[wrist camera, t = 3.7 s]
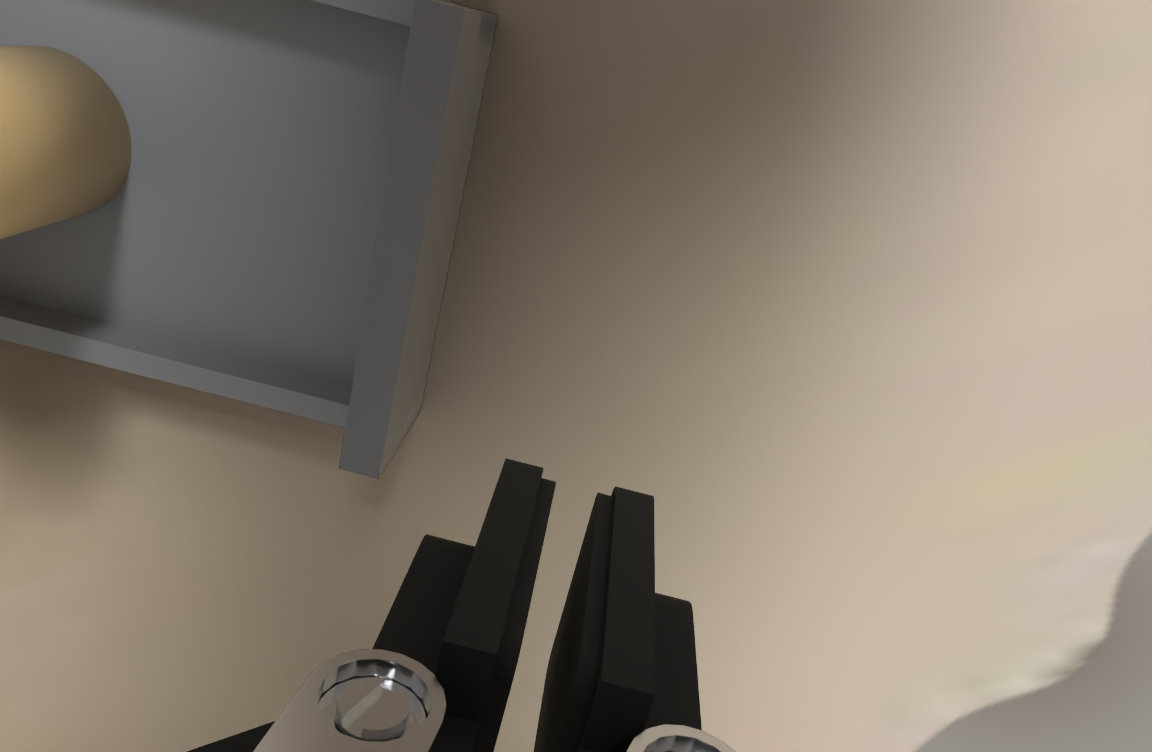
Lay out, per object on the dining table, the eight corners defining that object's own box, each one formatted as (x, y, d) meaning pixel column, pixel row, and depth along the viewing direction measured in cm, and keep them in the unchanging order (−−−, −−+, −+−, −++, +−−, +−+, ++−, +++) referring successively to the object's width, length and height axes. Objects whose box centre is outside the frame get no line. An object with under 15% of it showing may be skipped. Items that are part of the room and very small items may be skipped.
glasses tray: (497, 14, 26) (411, -1, 16) (420, 411, 30) (318, 575, 21) (-245, -181, 25) (-765, -310, 16) (-207, 250, 30) (-592, 344, 21)
